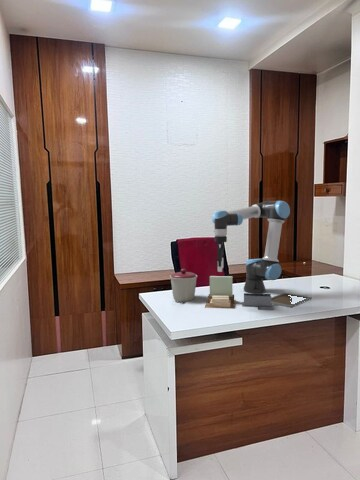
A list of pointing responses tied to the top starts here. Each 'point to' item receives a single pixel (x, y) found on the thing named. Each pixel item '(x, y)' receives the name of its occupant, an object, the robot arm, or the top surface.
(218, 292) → the panel
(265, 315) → the top surface
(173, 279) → the canister
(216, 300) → the offcut upper
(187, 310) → the top surface
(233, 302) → the rack
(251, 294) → the stand
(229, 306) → the offcut lower
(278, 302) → the grey brown flat board
